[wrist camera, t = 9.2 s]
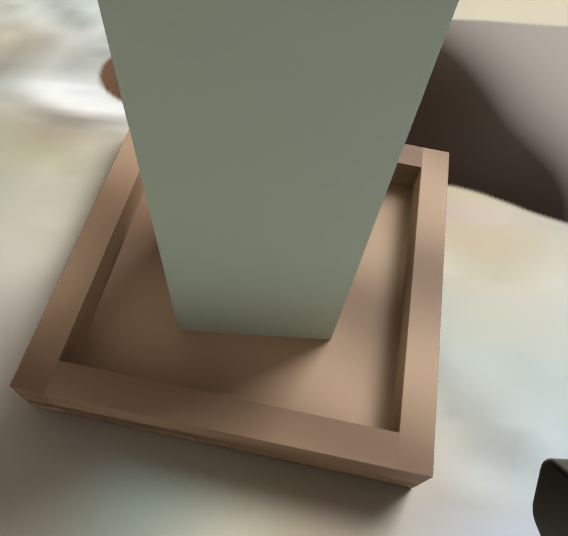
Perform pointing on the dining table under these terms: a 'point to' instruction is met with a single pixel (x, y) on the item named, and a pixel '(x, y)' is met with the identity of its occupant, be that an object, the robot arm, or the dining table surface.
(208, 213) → the tea tin
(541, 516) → the robot arm
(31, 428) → the dining table surface
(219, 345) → the walnut tray
